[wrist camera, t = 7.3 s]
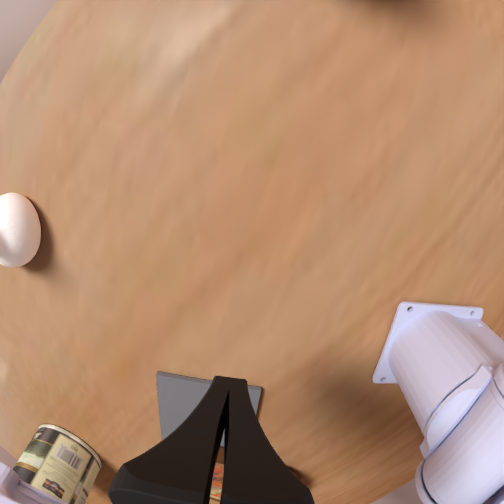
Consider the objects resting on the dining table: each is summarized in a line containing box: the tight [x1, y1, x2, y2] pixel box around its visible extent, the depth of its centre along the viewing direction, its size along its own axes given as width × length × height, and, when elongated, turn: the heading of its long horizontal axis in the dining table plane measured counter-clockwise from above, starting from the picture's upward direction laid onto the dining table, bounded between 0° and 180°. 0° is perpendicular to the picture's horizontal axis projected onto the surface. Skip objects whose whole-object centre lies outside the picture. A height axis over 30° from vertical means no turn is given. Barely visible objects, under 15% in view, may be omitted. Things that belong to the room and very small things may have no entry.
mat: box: [156, 371, 261, 447], centre depth 28 cm, size 9×19×1 cm, turn 173°
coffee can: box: [13, 424, 102, 504], centre depth 24 cm, size 10×10×14 cm
